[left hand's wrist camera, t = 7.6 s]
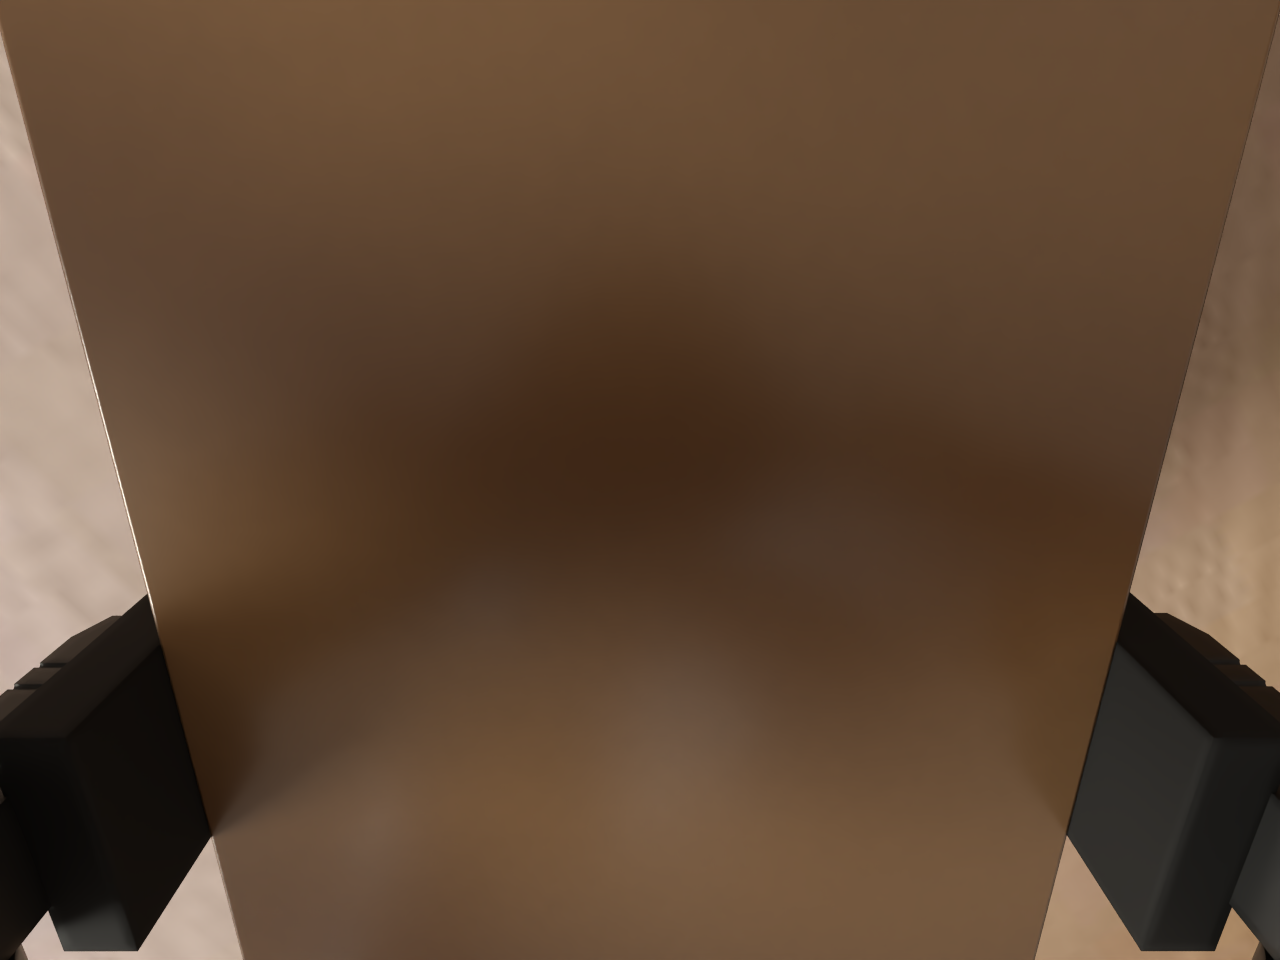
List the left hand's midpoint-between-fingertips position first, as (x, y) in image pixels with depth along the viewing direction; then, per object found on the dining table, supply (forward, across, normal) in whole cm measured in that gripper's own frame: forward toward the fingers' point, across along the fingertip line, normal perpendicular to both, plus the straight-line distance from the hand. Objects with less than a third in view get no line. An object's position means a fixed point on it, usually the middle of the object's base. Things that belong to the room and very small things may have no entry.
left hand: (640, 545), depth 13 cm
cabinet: (+6, 0, -4) cm, 8 cm away
